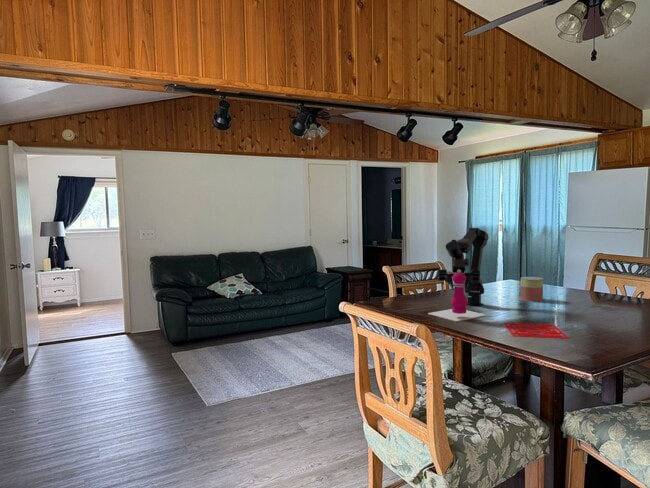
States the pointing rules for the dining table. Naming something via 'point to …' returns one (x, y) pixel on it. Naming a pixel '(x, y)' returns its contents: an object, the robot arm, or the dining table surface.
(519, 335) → the maze puzzle
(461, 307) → the pepper mill
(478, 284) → the robot arm
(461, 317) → the grey mat
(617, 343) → the dining table surface
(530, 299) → the canned food
